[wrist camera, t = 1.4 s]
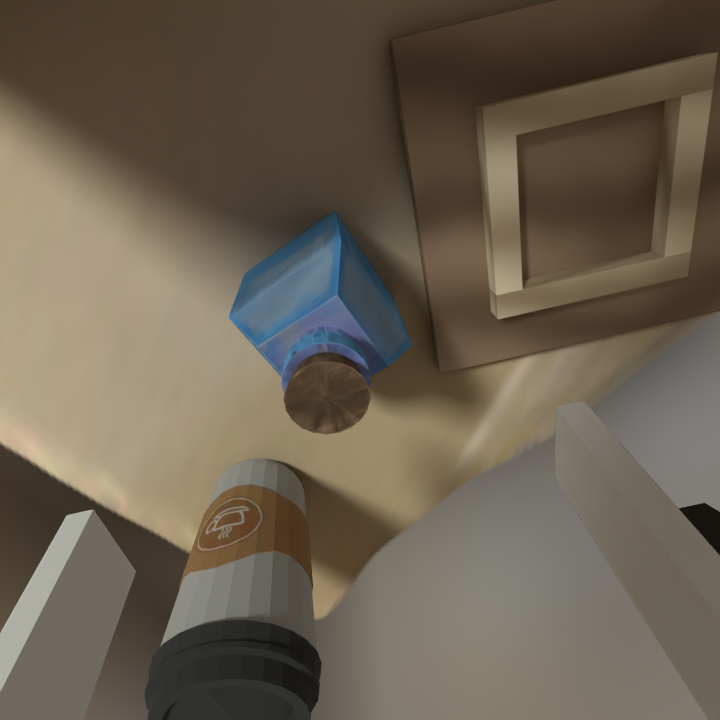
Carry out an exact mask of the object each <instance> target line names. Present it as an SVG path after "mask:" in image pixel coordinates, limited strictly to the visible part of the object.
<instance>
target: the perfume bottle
mask: <svg viewBox="0 0 720 720" xmlns="http://www.w3.org/2000/svg"><path fill="white" fill-rule="evenodd" d="M229 319H230V320H231V321H232V322H233V323H234V324H235V325H236V326H237V328H238V329H239V330H240V331H241V332H242V333H243V334H244V335H245V337H246V338H247V339H248V340H249V341H250V342H251V343H252V344H253V346H254V347H255V348H256V349H257V350H258V351H259V352H260V353H261V355H262V356H263V357H264V358H265V359H266V360H267V361H268V363H269V364H270V365H271V366H272V367H273V368H274V369H275V370H276V372H277V373H278V374H279V375H280V376H281V377H282V387H283V391H284V403H285V408H286V411H287V413H288V414H289V416H290V417H291V419H292V420H293V421H294V422H295V423H296V424H298V425H299V426H300V427H301V428H303V429H306V430H308V431H311V432H313V433H321V434H331V433H338V432H341V431H344V430H346V429H349V428H351V427H352V426H354V425H355V424H356V423H357V422H359V421H360V420H361V419H362V417H363V416H364V414H365V413H366V411H367V410H368V406H369V402H370V391H369V386H370V382H371V381H370V377H371V376H372V375H374V374H376V373H377V372H379V371H381V370H382V369H384V368H386V367H387V366H389V365H390V364H391V363H392V362H394V361H395V360H396V359H397V358H398V357H399V356H400V355H402V354H403V353H404V352H405V351H406V350H407V349H409V348H410V347H411V346H412V343H411V340H410V338H409V335H408V333H407V331H406V328H405V326H404V323H403V321H402V318H401V316H400V313H399V311H398V309H397V306H396V304H395V301H394V299H393V297H392V296H391V294H390V293H389V291H388V290H387V288H386V287H385V285H384V284H383V282H382V281H381V279H380V278H379V276H378V275H377V273H376V272H375V270H374V269H373V267H372V266H371V264H370V263H369V261H368V260H367V258H366V257H365V255H364V254H363V252H362V251H361V249H360V248H359V246H358V245H357V243H356V242H355V240H354V239H353V237H352V236H351V234H350V233H349V232H348V230H347V229H346V227H345V226H344V224H343V223H342V221H341V220H340V218H339V217H338V215H337V214H336V212H335V211H334V212H332V213H331V214H329V215H328V216H327V217H325V218H324V219H322V220H321V221H319V222H318V223H317V224H315V225H314V226H312V227H311V228H309V229H308V230H307V231H305V232H304V233H302V234H301V235H299V236H298V237H297V238H295V239H294V240H292V241H291V242H289V243H288V244H287V245H285V246H284V247H282V248H281V249H279V250H278V251H277V252H275V253H274V254H272V255H271V256H269V257H268V258H267V259H265V260H264V261H262V262H261V263H259V264H258V265H257V266H255V267H254V268H252V269H251V270H249V271H248V272H247V273H245V274H244V277H243V280H242V282H241V285H240V288H239V290H238V293H237V296H236V299H235V301H234V304H233V307H232V309H231V312H230V315H229Z"/></svg>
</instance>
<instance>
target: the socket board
mask: <svg viewBox="0 0 720 720" xmlns="http://www.w3.org/2000/svg"><path fill="white" fill-rule="evenodd" d="M389 45H390V52H391V59H392V65H393V72H394V79H395V86H396V92H397V99H398V106H399V112H400V119H401V126H402V133H403V139H404V146H405V153H406V160H407V166H408V173H409V180H410V187H411V193H412V200H413V207H414V214H415V220H416V227H417V234H418V241H419V247H420V254H421V261H422V268H423V274H424V281H425V288H426V295H427V301H428V308H429V315H430V322H431V328H432V335H433V342H434V348H435V355H436V362H437V367H438V369H439V371H440V373H445V372H450V371H454V370H459V369H463V368H467V367H472V366H476V365H481V364H485V363H490V362H494V361H499V360H503V359H507V358H512V357H516V356H521V355H525V354H530V353H534V352H539V351H543V350H547V349H552V348H556V347H561V346H565V345H570V344H574V343H579V342H583V341H587V340H592V339H596V338H601V337H605V336H610V335H614V334H618V333H623V332H627V331H632V330H636V329H641V328H645V327H650V326H654V325H658V324H663V323H667V322H672V321H676V320H681V319H685V318H690V317H694V316H698V315H703V314H707V313H712V312H716V311H720V0H555V1H551V2H546V3H542V4H538V5H534V6H530V7H525V8H521V9H517V10H513V11H509V12H505V13H500V14H496V15H492V16H488V17H484V18H480V19H475V20H471V21H467V22H463V23H459V24H454V25H450V26H446V27H442V28H438V29H434V30H429V31H425V32H421V33H417V34H413V35H409V36H404V37H400V38H396V39H392V40H391V41H389Z"/></svg>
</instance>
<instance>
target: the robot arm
mask: <svg viewBox="0 0 720 720" xmlns="http://www.w3.org/2000/svg"><path fill="white" fill-rule="evenodd" d="M556 480H557V482H558V484H559V485H560V487H561V488H562V490H563V492H564V493H565V495H566V496H567V498H568V499H569V501H570V503H571V504H572V506H573V507H574V509H575V511H576V512H577V513H578V515H579V517H580V519H581V520H582V522H583V523H584V525H585V526H586V528H587V529H588V531H589V533H590V534H591V536H592V537H593V539H594V541H595V542H596V544H597V545H598V547H599V548H600V550H601V552H602V553H603V555H604V556H605V558H606V560H607V561H608V563H609V564H610V566H611V567H612V569H613V571H614V572H615V574H616V575H617V577H618V579H619V580H620V582H621V583H622V585H623V586H624V588H625V590H626V591H627V592H628V594H629V596H630V597H631V599H632V601H633V602H634V604H635V605H636V607H637V609H638V610H639V612H640V613H641V615H642V616H643V618H644V620H645V621H646V622H647V624H648V626H649V627H650V629H651V630H652V632H653V634H654V635H655V637H656V638H657V640H658V642H659V643H660V645H661V646H662V648H663V650H664V651H665V653H666V654H667V656H668V657H669V659H670V661H671V662H672V664H673V665H674V667H675V669H676V670H677V672H678V673H679V675H680V676H681V678H682V680H683V681H684V683H685V684H686V686H687V687H688V689H689V691H690V692H691V694H692V695H693V697H694V698H695V700H696V702H697V703H698V705H699V706H700V708H701V709H702V711H703V713H704V714H705V716H706V717H707V719H708V720H720V512H719V511H717V510H715V509H714V508H712V507H710V506H709V505H707V504H705V503H703V504H698V505H693V506H688V507H684V508H679V509H678V508H677V506H676V505H675V504H674V503H673V502H672V501H671V500H670V499H669V497H668V496H667V495H666V494H665V493H664V492H663V491H662V489H661V488H660V487H659V486H658V485H657V484H656V483H655V481H654V480H653V479H652V478H651V477H650V476H649V475H648V473H647V472H646V471H645V470H644V469H643V468H642V467H641V466H640V464H639V463H638V462H637V461H636V460H635V459H634V458H633V456H632V455H631V454H630V453H629V452H628V451H627V450H626V448H625V447H624V446H623V445H622V444H621V443H620V442H619V441H618V439H617V438H616V437H615V436H614V435H613V434H612V433H611V432H610V430H609V429H608V428H607V427H606V426H605V425H604V424H603V422H602V421H601V420H600V419H599V418H598V417H597V416H596V414H595V413H594V412H593V411H592V410H591V409H590V408H589V406H588V405H587V404H586V403H585V402H584V401H579V402H575V403H570V404H566V405H561V406H557V407H556ZM135 572H136V571H135V570H134V568H133V567H132V565H131V564H130V562H129V561H128V559H127V558H126V557H125V555H124V554H123V552H122V551H121V549H120V548H119V546H118V545H117V544H116V542H115V541H114V539H113V538H112V536H111V535H110V533H109V532H108V530H107V529H106V527H105V526H104V524H103V523H102V521H101V520H100V519H99V517H98V516H97V514H96V513H95V511H94V510H89V511H84V512H80V513H75V514H71V515H67V516H66V518H65V520H64V521H63V523H62V525H61V527H60V528H59V530H58V532H57V534H56V536H55V537H54V539H53V541H52V543H51V544H50V546H49V548H48V550H47V552H46V553H45V555H44V557H43V559H42V560H41V562H40V564H39V566H38V567H37V569H36V571H35V573H34V574H33V576H32V578H31V580H30V582H29V583H28V585H27V587H26V589H25V590H24V592H23V594H22V596H21V597H20V599H19V601H18V603H17V605H16V606H15V608H14V610H13V612H12V614H11V615H10V617H9V619H8V621H7V622H6V624H5V626H4V628H3V629H2V631H1V633H0V720H83V718H84V715H85V712H86V710H87V707H88V704H89V702H90V699H91V696H92V693H93V690H94V687H95V684H96V682H97V679H98V676H99V673H100V671H101V668H102V665H103V662H104V659H105V657H106V654H107V651H108V648H109V645H110V643H111V640H112V637H113V634H114V631H115V628H116V626H117V623H118V620H119V617H120V614H121V612H122V609H123V606H124V603H125V600H126V598H127V595H128V592H129V589H130V586H131V583H132V581H133V578H134V575H135Z"/></svg>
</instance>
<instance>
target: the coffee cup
mask: <svg viewBox="0 0 720 720" xmlns="http://www.w3.org/2000/svg"><path fill="white" fill-rule="evenodd" d="M312 589H313V580H312V568H311V555H310V543H309V531H308V524H307V519H306V506H305V493H304V489H303V486H302V483H301V482H300V480H299V479H298V477H297V476H296V475H295V474H294V472H293V471H292V470H290V469H289V468H288V467H287V466H285V465H283V464H281V463H279V462H277V461H273V460H268V459H251V460H246V461H242V462H240V463H238V464H235V465H234V466H232V467H231V468H230V469H229V470H227V471H226V472H225V473H224V474H222V475H221V477H220V478H219V480H218V481H217V482H216V485H215V488H214V491H213V494H212V497H211V499H210V502H209V505H208V508H207V511H206V512H205V514H204V516H203V519H202V522H201V525H200V527H199V530H198V533H197V536H196V539H195V542H194V545H193V548H192V551H191V554H190V556H189V560H188V562H187V565H186V568H185V571H184V574H183V577H182V580H181V584H180V591H179V594H178V597H177V600H176V603H175V606H174V609H173V612H172V614H171V617H170V620H169V623H168V626H167V629H166V632H165V635H164V638H163V641H162V644H161V647H160V648H159V649H158V650H157V652H156V653H155V654H154V655H153V657H152V661H151V664H150V667H149V680H148V683H147V687H146V691H145V700H146V706H147V709H148V710H149V713H148V720H310V718H311V717H310V716H311V712H312V710H313V708H314V706H315V704H316V703H317V701H318V695H319V685H320V683H319V679H320V673H321V664H322V663H321V660H320V658H319V655H318V652H317V650H316V637H315V624H314V611H313V598H312Z"/></svg>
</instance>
